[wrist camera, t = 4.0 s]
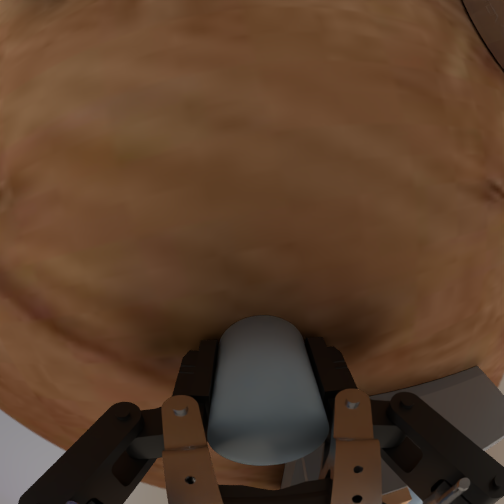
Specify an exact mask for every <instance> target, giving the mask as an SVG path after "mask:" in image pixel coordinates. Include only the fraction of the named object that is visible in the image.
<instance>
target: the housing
mask: <svg viewBox="0 0 504 504" xmlns="http://www.w3.org/2000/svg"><path fill="white" fill-rule="evenodd" d="M399 392H411V393H413V394H415V395H417V396H418V397H419V398H421V399H422V400H423V401H424V402H425V403H427V404H428V405H429V406H430V407H431V408H433V409H434V410H435V411H436V412H437V413H439V414H440V415H441V416H442V417H444V418H445V419H446V420H447V421H448V422H450V423H451V424H452V425H453V426H454V427H456V428H457V429H458V430H459V431H460V432H462V433H463V434H464V435H465V436H467V437H468V438H469V439H470V440H471V441H473V442H474V443H475V444H476V445H477V446H479V447H480V448H481V449H482V450H484V451H485V450H487V449H489V448H490V447H492V446H493V445H494V444H496V443H498V442H499V441H500V440H502V439H503V438H504V395H503V394H502V393H501V392H500V391H499V389H498V388H497V387H496V386H495V385H494V384H493V383H492V381H491V380H490V379H489V378H488V377H487V376H486V375H485V374H484V372H483V371H482V370H481V369H480V368H479V367H478V366H476V367H473V368H470V369H468V370H465V371H462V372H459V373H456V374H453V375H450V376H447V377H444V378H441V379H438V380H435V381H431V382H428V383H424V384H421V385H417V386H413V387H410V388H406V389H402V390H397V391H393V392H389V393H384V394H379V395H374V396H369V398H370V399H373V400H382V401H390V400H391V398H392V397H393V396H394V395H395V394H396V393H399ZM407 437H408V436H407ZM408 438H409V437H408ZM409 439H410V438H409ZM322 448H323V443H322V444H321V446H319V447H318V448H317V449H316V450H314V451H313V452H312V453H310V454H308V455H306V456H304V457H302V458H300V459H297V460H294V461H291V462H287V463H285V468H284V474H283V479H282V484H281V489H283V488H286V487H290V486H293V485H296V484H299V483H302V482H305V481H313V480H318V478H319V474H320V467H321V458H322ZM381 473H382V495H385V494H388V493H391V492H394V491H397V490H400V489H403V488H406V487H408V486H407V485H406V484H405V483H404V482H403V481H402V480H401V479H400V477H399V476H398V475H397V474H396V473H395V472H394V471H393V470H392V469H391V468H390V467H389V466H388V465H387V464H386V463H385V461H384V460H383V459H382V458H381ZM408 489H409V487H408Z"/></svg>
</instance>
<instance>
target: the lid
mask: <svg viewBox="0 0 504 504" xmlns="http://www.w3.org/2000/svg"><path fill="white" fill-rule="evenodd" d="M411 500H412V497H411V495H410V492H409V490H408V487H406V488H403V489H400V490H397V491H394V492H391V493H388V494H385V495H382V502H384V503H386V504H407V503H408V502H410V501H411Z"/></svg>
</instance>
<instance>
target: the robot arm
mask: <svg viewBox="0 0 504 504" xmlns="http://www.w3.org/2000/svg"><path fill="white" fill-rule="evenodd" d="M463 2H464V5H465V7H466V9H467V11H468V13H469V15H470V17H471V19H472V21H473V23H474V25H475V26H476V28H477V30H478V32H479V33H480V35H481V37H482V38H483V40H484V42H485V43H486V45H487V46H488V48H489V49H490V51H491V52H492V54H493V55H494V57H495V58H496V60H497V61H498V62H499V64H500V65H501V66H502V68H503V69H504V0H463ZM305 347H306V350H307V353H308V356H309V359H310V363H311V366H312V369H313V372H314V376H315V379H316V382H317V386H318V389H319V392H320V396H321V399H322V402H323V406H324V409H325V413H326V416H327V419H328V423H329V434H328V436H327V438H326V439H325V441H324V442H323V448H322V458H321V467H320V474H319V478H318V480H313V481H305V482H302V483H299V484H296V485H293V486H290V487H286V488H283V489H280V490H266V489H260V488H254V487H248V486H243V485H218V483H217V480H216V476H215V472H214V469H213V465H212V461H211V457H210V453H209V449H208V445H207V441H208V440H207V431H208V422H209V414H210V407H211V399H212V391H213V383H214V375H215V367H216V360H217V352H218V341H217V340H201V342H200V346H199V351H195V350H190V351H189V352H188V353H187V354H186V355H185V356H184V357H183V359H182V363H181V367H180V370H179V373H178V377H177V380H176V384H175V387H174V391H173V395H172V397H170V398H168V399H167V400H166V401H165V402H164V403H163V405H162V407H159V408H156V409H150V410H142V411H140V409H139V407H138V406H137V405H135V404H133V403H130V402H120V403H116V404H114V405H113V406H111V407H110V408H109V409H108V410H107V411H106V412H105V413H104V414H103V415H102V416H101V417H100V418H99V419H98V420H97V421H96V422H95V423H94V424H93V425H92V426H91V427H90V428H89V429H88V430H87V431H86V432H85V433H84V434H83V435H82V436H81V437H80V438H79V439H78V440H77V441H76V442H75V443H74V444H73V445H72V446H71V447H70V448H69V449H68V450H67V451H66V452H65V453H64V454H63V456H61V457H60V458H59V459H58V460H57V462H56V463H54V464H53V466H51V467H50V468H49V469H48V470H47V471H46V472H45V473H44V474H43V475H42V476H41V477H40V478H39V479H38V480H37V481H36V482H35V483H34V484H33V485H32V486H31V487H30V488H29V489H28V490H27V491H26V492H25V493H24V494H23V495H22V496H21V497H20V500H19V503H18V504H123V503H124V502H125V501H126V499H127V498H128V497H129V495H130V494H131V493H132V492H133V490H134V489H135V488H136V486H137V485H138V484H139V482H140V481H141V480H142V478H143V477H144V476H145V474H146V473H147V472H148V470H149V469H150V467H151V466H152V465H153V463H154V462H155V461H156V459H157V458H160V457H162V459H163V468H164V476H165V484H166V491H167V498H168V504H386V503H384V502H382V473H381V458H382V459H383V460H384V461H385V463H386V464H387V465H388V466H389V467H390V468H391V469H392V470H393V471H394V472H395V473H396V474H397V475H398V476H399V477H400V479H401V480H402V481H403V482H404V483H405V484H406V485H407V486H408V487H409V488H410V489H411V490H412V491H413V492H414V493H415V494H416V495H417V496H418V497H419V498H420V499H421V500H422V501H423V504H494V503H495V502H496V501H498V500H499V499H500V498H502V497H503V496H504V467H503V466H502V465H501V464H499V463H498V462H497V461H496V460H495V459H493V458H492V457H491V456H489V455H488V454H487V453H486V452H485V451H484V450H482V449H481V448H480V447H479V446H477V445H476V444H475V443H474V442H473V441H471V440H470V439H469V438H468V437H467V436H465V435H464V434H463V433H462V432H460V431H459V430H458V429H457V428H456V427H454V426H453V425H452V424H451V423H450V422H448V421H447V420H446V419H445V418H444V417H442V416H441V415H440V414H439V413H437V412H436V411H435V410H434V409H433V408H431V407H430V406H429V405H428V404H427V403H425V402H424V401H423V400H422V399H421V398H419V397H418V396H417V395H415V394H413V393H411V392H399V393H396V394H395V395H394V396H393V397H392V398H391V400H390V401H382V400H373V399H370V398H369V396H368V395H367V394H366V393H365V392H363V391H361V390H358V389H357V386H356V384H355V382H354V380H353V378H352V375H351V373H350V371H349V369H348V368H347V365H346V362H345V361H344V358H343V356H342V354H341V352H340V351H338V350H337V349H336V348H335V347H334V346H333V347H327V346H326V344H325V342H324V339H323V337H312V338H306V339H305ZM407 436H408V437H409V438H410V439H409V438H408V437H407Z"/></svg>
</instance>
